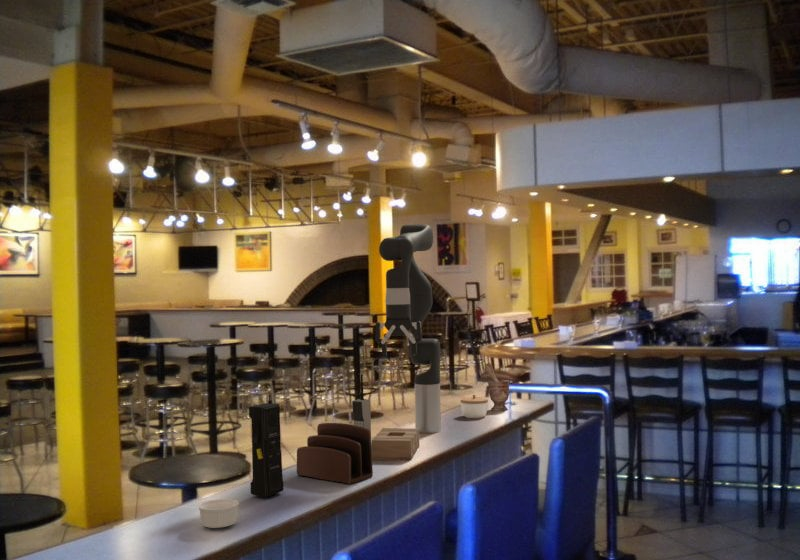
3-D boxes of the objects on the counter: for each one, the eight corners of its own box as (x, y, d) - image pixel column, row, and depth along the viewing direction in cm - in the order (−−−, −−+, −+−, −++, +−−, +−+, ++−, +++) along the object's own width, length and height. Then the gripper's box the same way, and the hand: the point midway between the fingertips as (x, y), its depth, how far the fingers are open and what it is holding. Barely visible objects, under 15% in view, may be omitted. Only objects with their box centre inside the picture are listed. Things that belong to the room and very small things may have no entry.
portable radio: (265, 498, 194) (264, 398, 195) (247, 496, 197) (245, 397, 198) (285, 491, 201) (283, 394, 201) (266, 488, 204) (265, 393, 204)
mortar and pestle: (478, 412, 320) (477, 364, 321) (488, 409, 327) (487, 362, 328) (503, 414, 314) (502, 365, 314) (513, 411, 321) (512, 363, 321)
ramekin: (192, 528, 172) (191, 508, 172) (209, 516, 180) (208, 497, 180) (230, 529, 170) (229, 510, 170) (245, 518, 179) (245, 499, 179)
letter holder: (319, 468, 227) (319, 420, 227) (373, 477, 215) (372, 426, 216) (296, 475, 219) (295, 425, 219) (350, 484, 207) (349, 431, 208)
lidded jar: (474, 415, 314) (474, 392, 314) (493, 418, 305) (493, 394, 305) (455, 418, 307) (454, 395, 307) (474, 422, 298) (473, 397, 299)
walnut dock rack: (383, 446, 256) (382, 428, 256) (419, 446, 254) (419, 428, 254) (371, 460, 236) (371, 440, 236) (411, 460, 234) (410, 440, 234)
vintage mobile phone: (352, 453, 245) (351, 374, 245) (361, 450, 250) (359, 372, 250) (363, 454, 243) (361, 375, 244) (371, 451, 248) (369, 373, 248)
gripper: (422, 302, 241) (423, 354, 241) (376, 303, 243) (378, 354, 243) (419, 302, 233) (421, 357, 233) (373, 303, 235) (374, 357, 235)
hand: (399, 355), depth 238 cm, fingers open, 8 cm apart
